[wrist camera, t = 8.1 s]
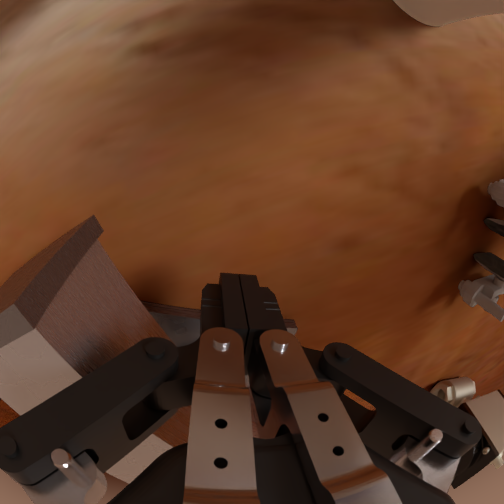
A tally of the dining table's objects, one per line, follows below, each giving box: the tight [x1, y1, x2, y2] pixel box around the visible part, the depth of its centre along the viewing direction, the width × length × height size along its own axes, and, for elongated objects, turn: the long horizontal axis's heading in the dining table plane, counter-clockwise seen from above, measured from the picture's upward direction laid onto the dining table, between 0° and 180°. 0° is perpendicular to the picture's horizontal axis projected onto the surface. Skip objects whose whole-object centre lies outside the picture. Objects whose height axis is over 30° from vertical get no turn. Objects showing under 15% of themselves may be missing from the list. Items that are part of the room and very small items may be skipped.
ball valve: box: [430, 377, 504, 489], centre depth 25 cm, size 18×8×18 cm, turn 72°
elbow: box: [0, 215, 258, 484], centre depth 12 cm, size 19×8×6 cm, turn 23°
